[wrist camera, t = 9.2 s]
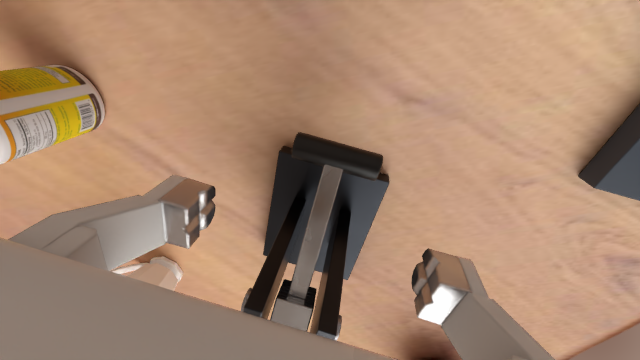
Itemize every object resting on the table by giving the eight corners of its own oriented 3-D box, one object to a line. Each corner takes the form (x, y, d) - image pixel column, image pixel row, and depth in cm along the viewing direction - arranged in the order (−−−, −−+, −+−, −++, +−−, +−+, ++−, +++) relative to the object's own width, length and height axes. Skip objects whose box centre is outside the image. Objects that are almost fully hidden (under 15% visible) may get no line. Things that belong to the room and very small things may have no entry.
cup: (197, 292, 35) (153, 358, 28) (127, 277, 36) (68, 336, 29) (188, 254, 31) (135, 318, 24) (111, 238, 32) (39, 295, 25)
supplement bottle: (34, 74, 23) (-178, 103, 14) (79, 54, 21) (-129, 73, 12) (78, 135, 25) (-79, 191, 16) (121, 121, 24) (-28, 176, 15)
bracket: (283, 145, 22) (206, 244, 12) (388, 175, 22) (402, 303, 12) (266, 246, 28) (207, 368, 18) (348, 271, 28) (334, 409, 18)
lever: (301, 133, 16) (295, 129, 14) (379, 155, 16) (386, 155, 14) (253, 310, 18) (240, 335, 15) (325, 333, 18) (323, 360, 15)
